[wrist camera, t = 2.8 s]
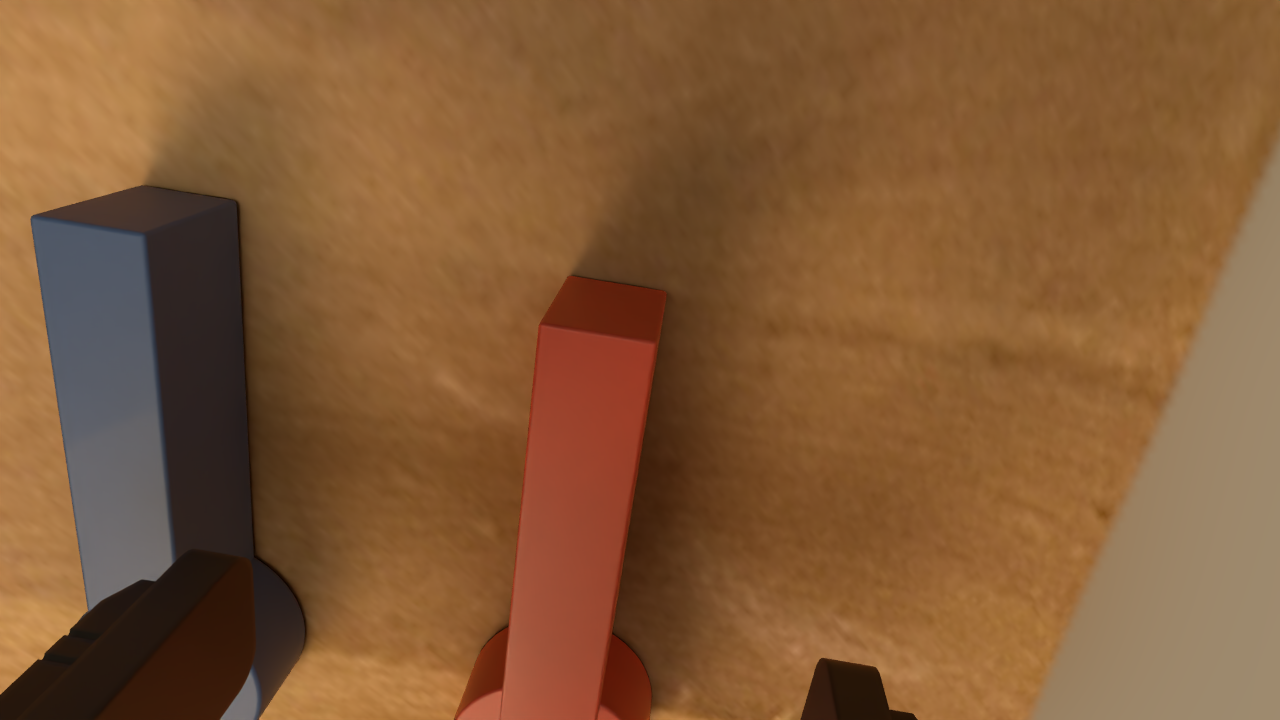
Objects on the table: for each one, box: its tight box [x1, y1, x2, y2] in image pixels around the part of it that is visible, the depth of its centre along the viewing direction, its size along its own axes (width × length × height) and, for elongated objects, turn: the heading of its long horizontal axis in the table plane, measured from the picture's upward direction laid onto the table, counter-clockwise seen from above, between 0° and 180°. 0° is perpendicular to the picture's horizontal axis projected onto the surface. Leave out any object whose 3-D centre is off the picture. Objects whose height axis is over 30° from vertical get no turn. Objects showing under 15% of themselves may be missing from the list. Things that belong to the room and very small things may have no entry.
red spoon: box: [454, 276, 667, 720], centre depth 16 cm, size 12×4×3 cm, turn 172°
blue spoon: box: [31, 185, 305, 720], centre depth 16 cm, size 12×4×3 cm, turn 172°
